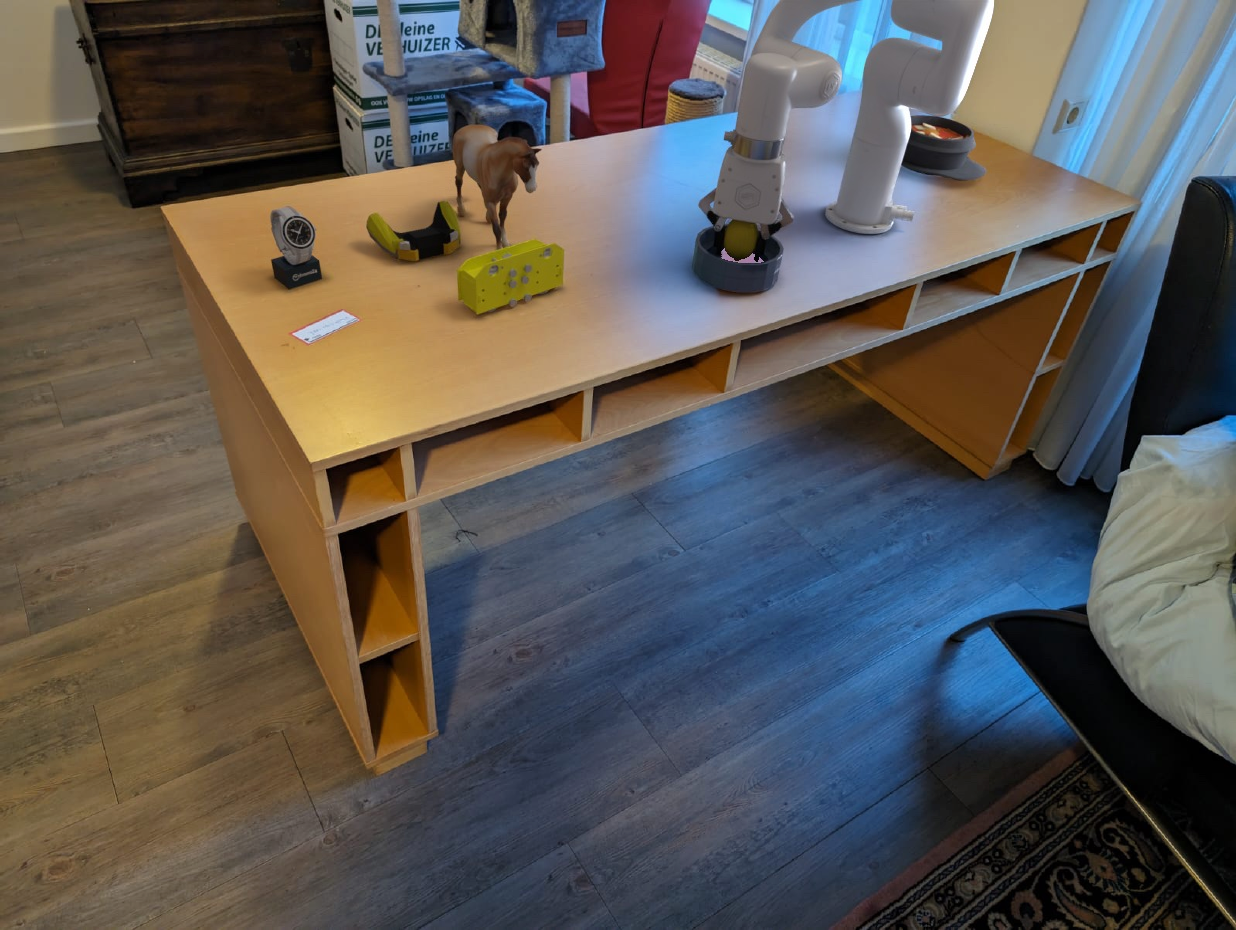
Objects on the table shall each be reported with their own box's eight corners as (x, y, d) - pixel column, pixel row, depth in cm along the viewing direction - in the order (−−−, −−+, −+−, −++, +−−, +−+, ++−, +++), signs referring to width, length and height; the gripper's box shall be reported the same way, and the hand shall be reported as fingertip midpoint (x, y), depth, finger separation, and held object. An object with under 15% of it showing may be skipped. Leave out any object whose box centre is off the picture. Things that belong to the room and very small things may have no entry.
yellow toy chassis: (478, 320, 128) (477, 269, 123) (457, 304, 131) (454, 253, 126) (564, 290, 137) (566, 241, 132) (542, 275, 140) (543, 227, 135)
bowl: (780, 262, 150) (786, 232, 146) (772, 302, 139) (779, 271, 136) (698, 248, 152) (703, 218, 148) (685, 286, 141) (689, 255, 137)
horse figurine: (541, 275, 140) (543, 148, 127) (494, 282, 137) (492, 152, 124) (484, 195, 161) (481, 79, 148) (443, 199, 158) (436, 81, 145)
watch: (295, 295, 130) (282, 225, 123) (268, 273, 134) (255, 205, 127) (329, 283, 133) (318, 215, 126) (302, 263, 137) (290, 196, 130)
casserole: (999, 176, 188) (1013, 137, 182) (954, 196, 178) (967, 155, 172) (901, 139, 201) (911, 101, 196) (853, 155, 191) (863, 116, 185)
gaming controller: (365, 243, 144) (388, 270, 138) (361, 211, 140) (384, 237, 134) (450, 227, 150) (475, 252, 144) (448, 196, 147) (474, 220, 141)
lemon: (742, 272, 141) (751, 226, 136) (713, 260, 143) (721, 214, 138) (759, 261, 144) (768, 215, 139) (731, 249, 147) (739, 204, 141)
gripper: (697, 144, 130) (682, 255, 141) (813, 162, 127) (788, 274, 139) (705, 127, 135) (690, 235, 147) (816, 144, 133) (791, 253, 145)
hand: (738, 253), depth 143 cm, fingers closed on lemon, 5 cm apart
